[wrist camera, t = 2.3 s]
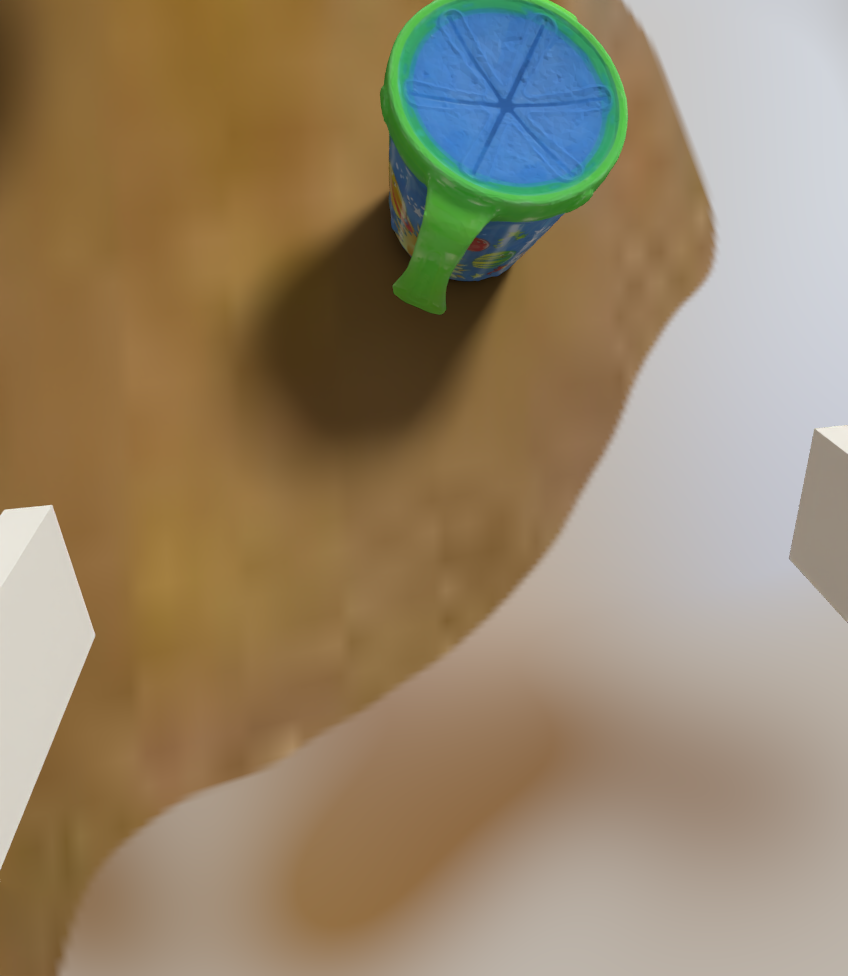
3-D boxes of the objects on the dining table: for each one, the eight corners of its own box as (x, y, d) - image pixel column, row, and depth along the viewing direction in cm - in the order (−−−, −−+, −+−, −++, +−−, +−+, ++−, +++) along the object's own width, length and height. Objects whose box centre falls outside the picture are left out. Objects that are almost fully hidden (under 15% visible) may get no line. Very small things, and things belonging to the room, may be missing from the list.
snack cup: (474, 390, 41) (538, 297, 31) (296, 283, 40) (305, 155, 30) (599, 174, 45) (689, 34, 36) (441, 76, 45) (488, -93, 35)
